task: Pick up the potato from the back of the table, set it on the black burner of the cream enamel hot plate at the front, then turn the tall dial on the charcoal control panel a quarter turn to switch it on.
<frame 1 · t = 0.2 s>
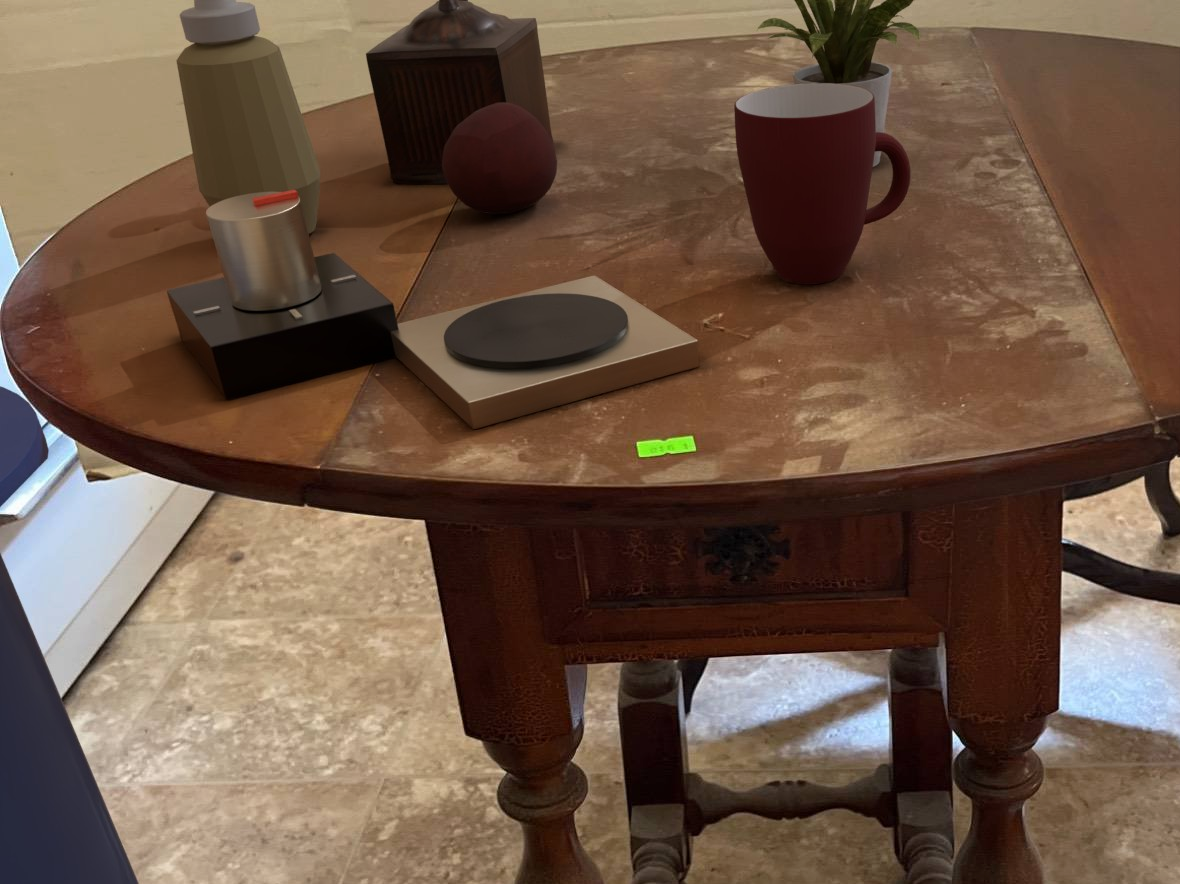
dial: (264, 248, 81), point 6 cm above the table, hinge at 0.0°
mug: (828, 272, 90), on the table
squeeze bottle: (275, 237, 102), on the table
hotplate: (541, 359, 81), on the table
control panel: (290, 347, 85), on the table
grooved wooden box: (446, 166, 115), on the table
house plant: (828, 168, 108), on the table
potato: (507, 213, 104), on the table
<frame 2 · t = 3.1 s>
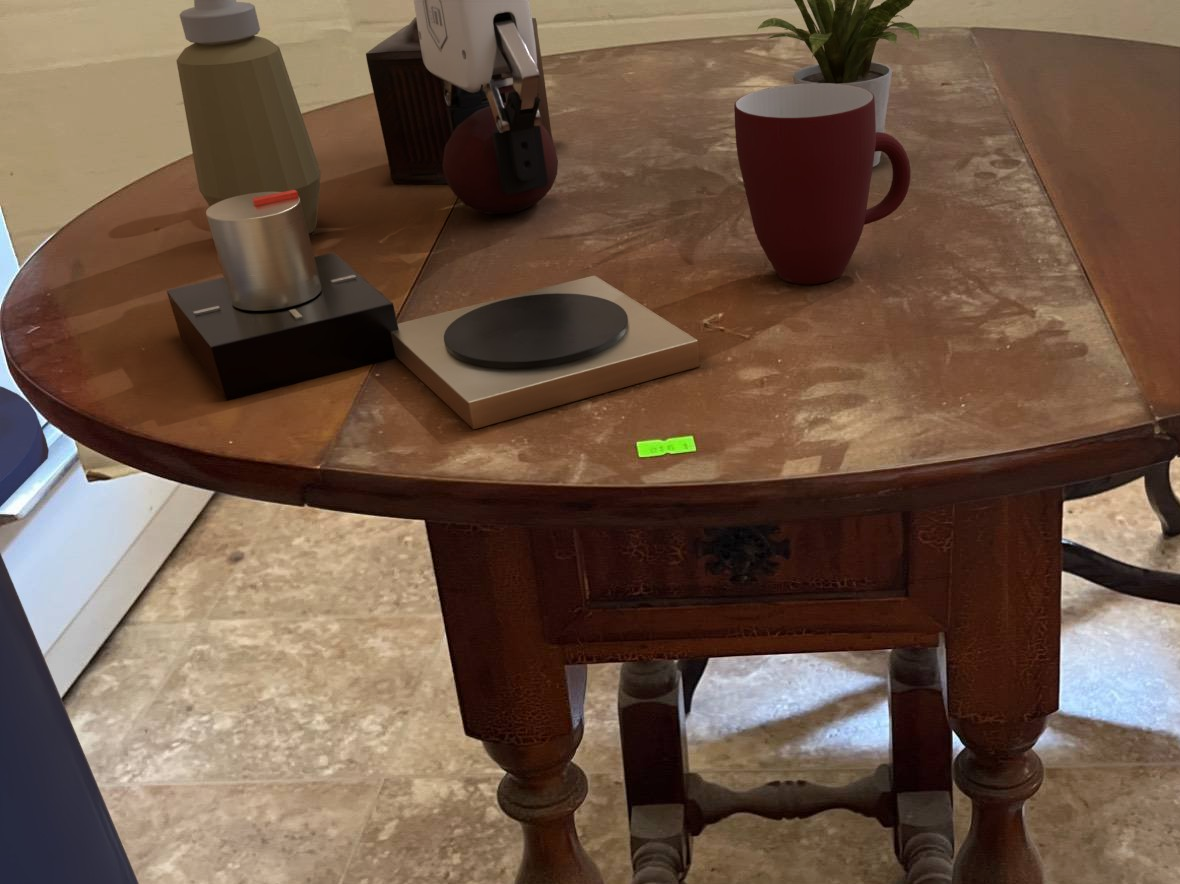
hand: (502, 174, 102), 2 cm above the table, tool pointing down, fingers closed on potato, 7 cm apart
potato: (508, 214, 104), on the table, touching gripper
everything else where it was.
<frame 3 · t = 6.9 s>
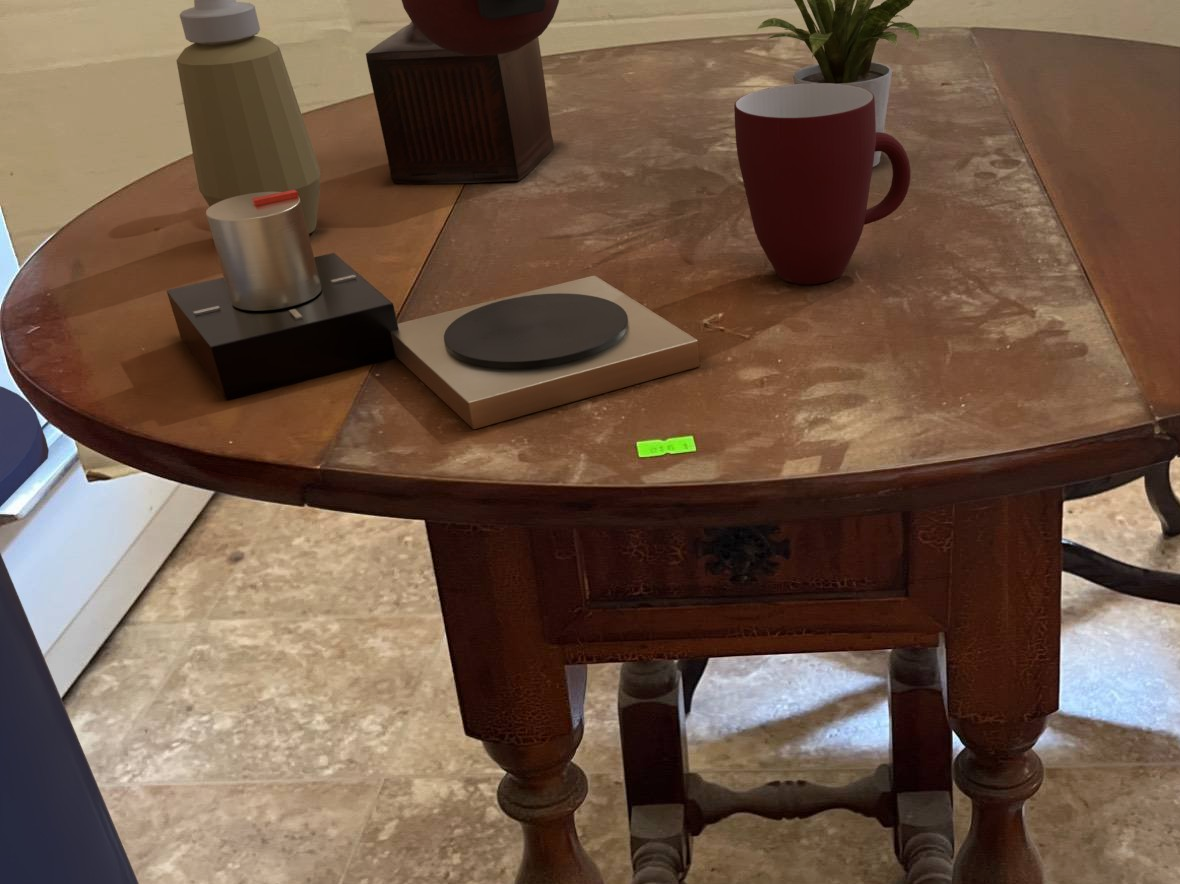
hand: (480, 0, 73), 18 cm above the table, tool pointing down, fingers closed on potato, 7 cm apart
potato: (490, 58, 74), point 15 cm above the table, touching gripper
everything else where it was.
when the fingers open (4 cm above the table, at t = 10.7 s): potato stays where it is, resting on hotplate.
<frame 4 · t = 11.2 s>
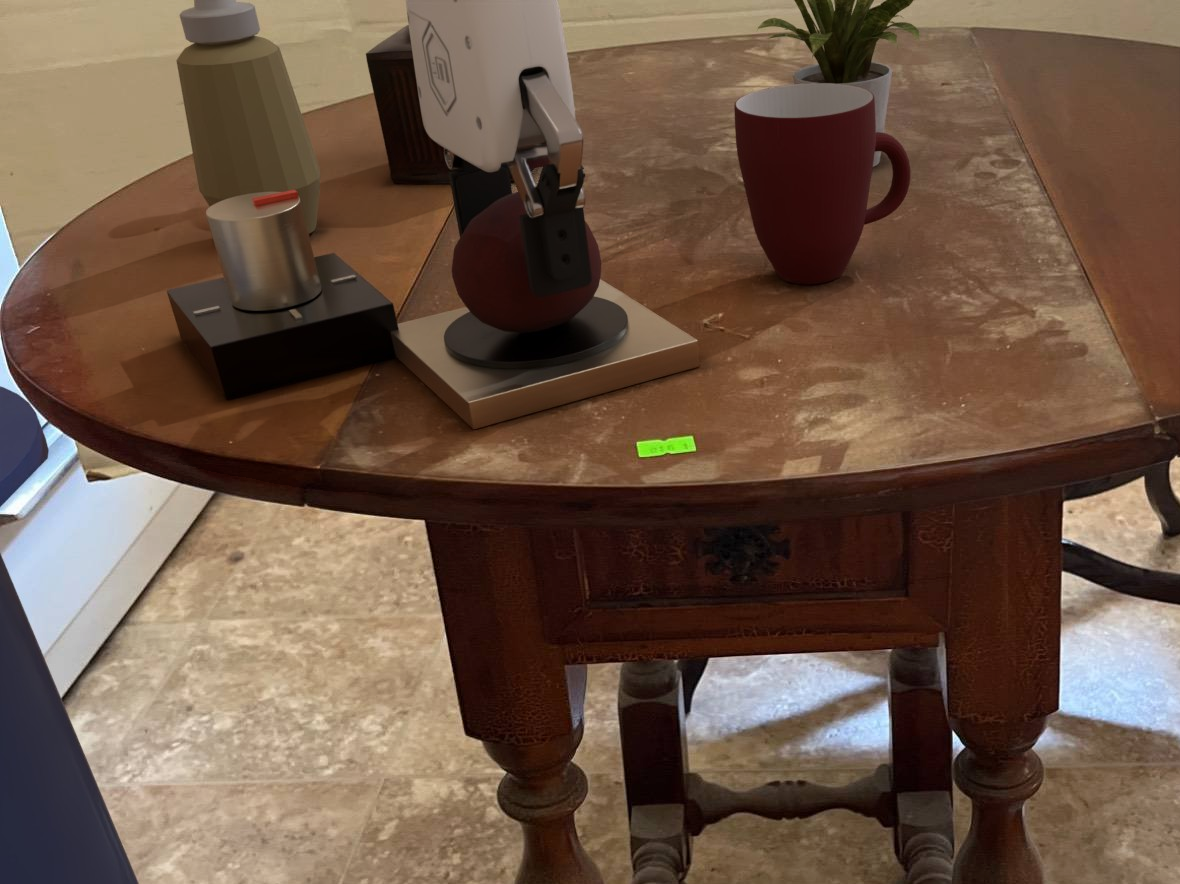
hand: (524, 264, 78), 5 cm above the table, tool pointing down, fingers open, 9 cm apart
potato: (536, 330, 80), point 2 cm above the table, touching hotplate
everything else where it was.
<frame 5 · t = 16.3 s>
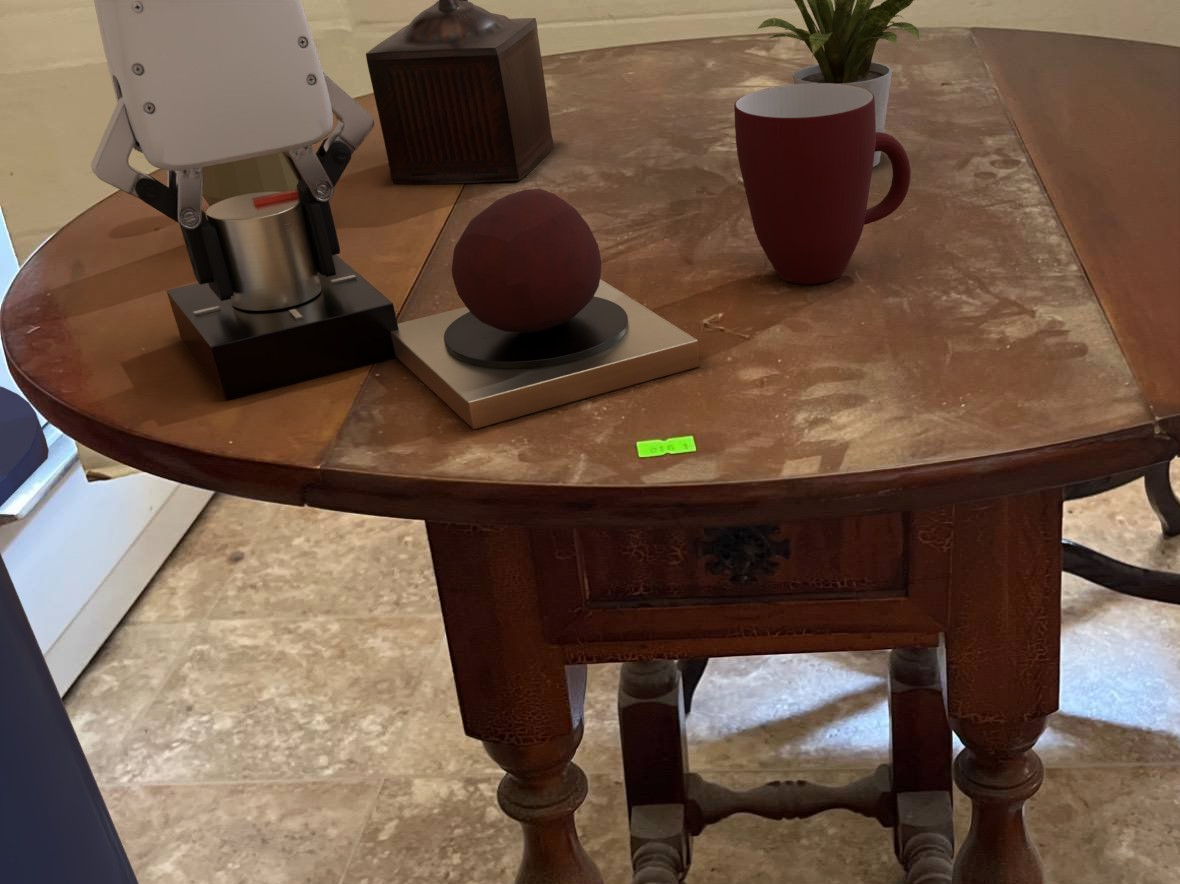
hand: (272, 278, 82), 4 cm above the table, tool pointing down, fingers closed on dial, 5 cm apart
dial: (264, 248, 81), point 6 cm above the table, hinge at 0.0°, touching gripper
everything else where it was.
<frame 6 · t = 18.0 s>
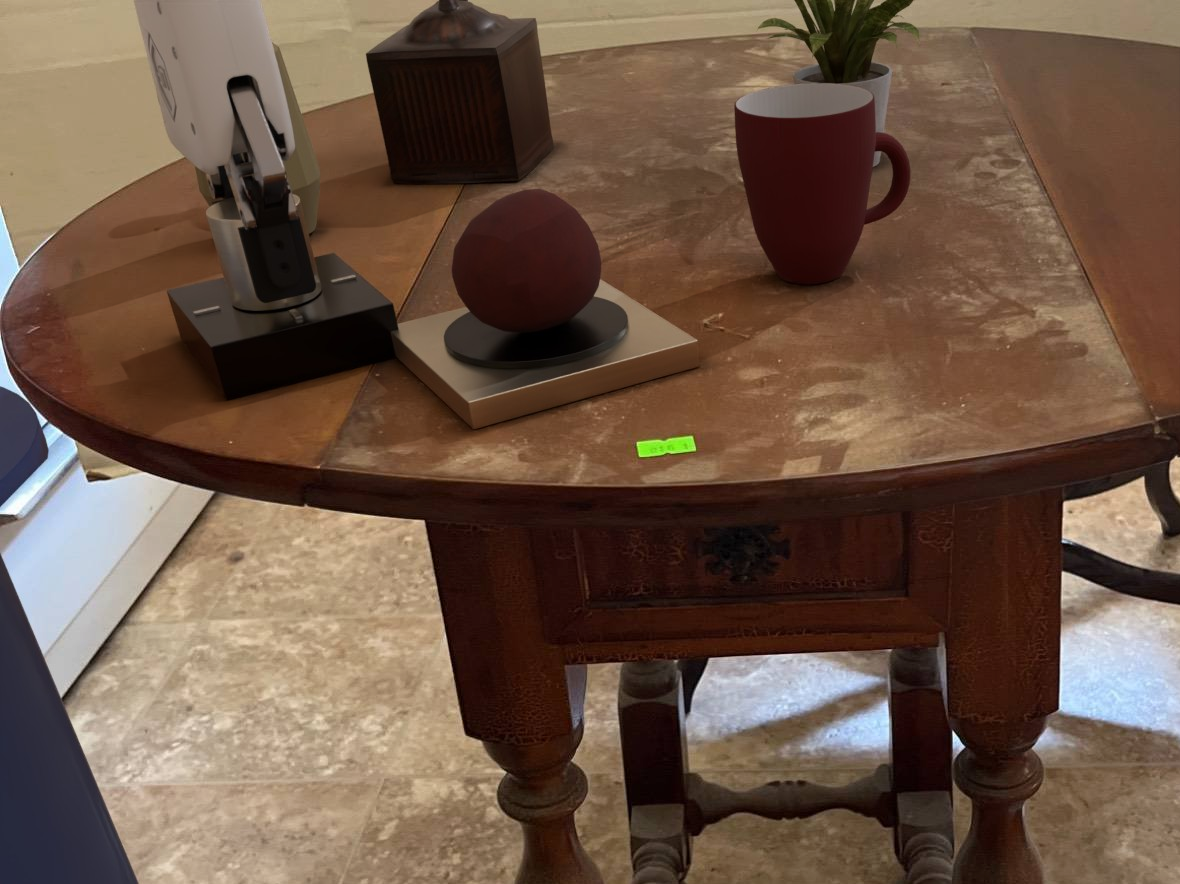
hand: (272, 278, 82), 4 cm above the table, tool pointing down, fingers closed on dial, 5 cm apart
dial: (264, 248, 81), point 6 cm above the table, hinge at 89.9°, touching gripper
everything else where it was.
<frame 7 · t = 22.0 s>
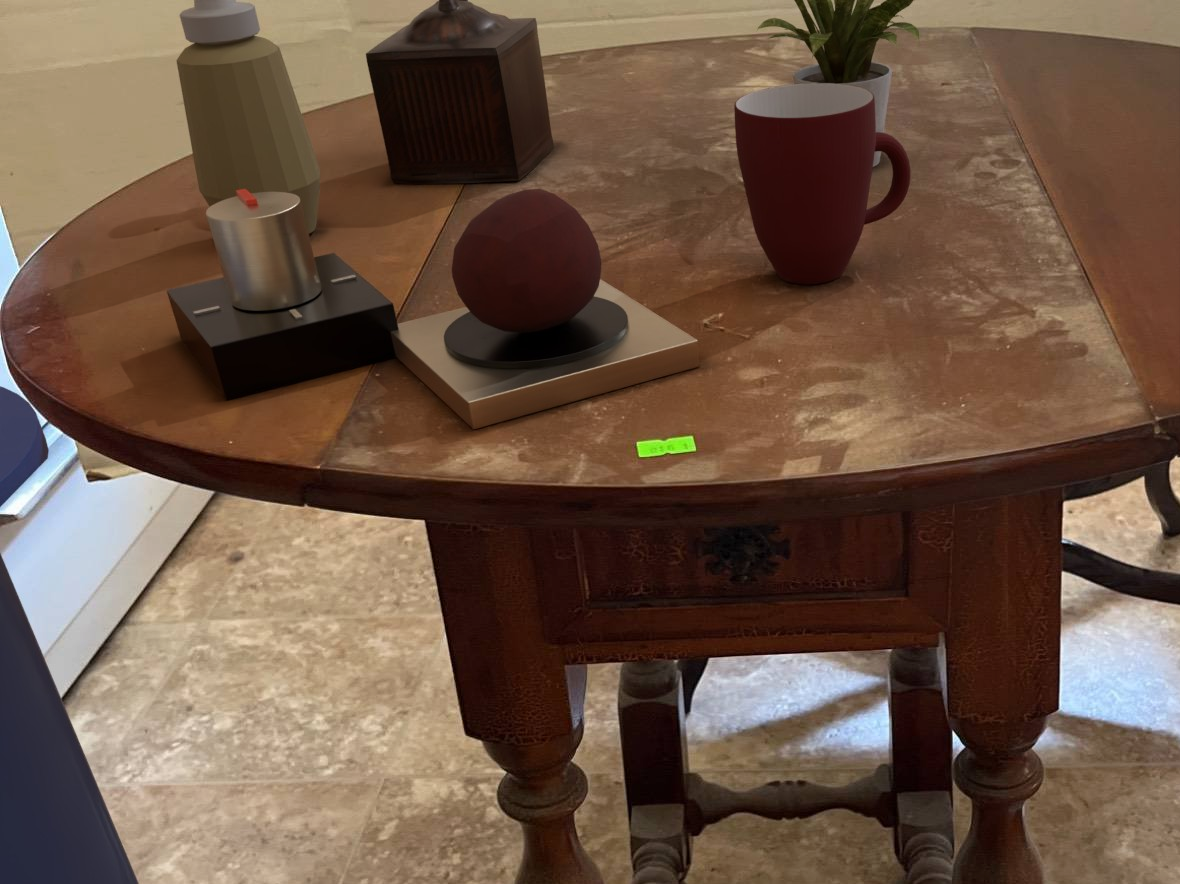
dial: (264, 248, 81), point 6 cm above the table, hinge at 89.8°
everything else where it was.
at the end: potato inside the target area on the hotplate (0.2 cm from its centre), point 1.7 cm above the hotplate's base; the gripper is holding nothing; dial at +90° (first picture: +0°) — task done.
